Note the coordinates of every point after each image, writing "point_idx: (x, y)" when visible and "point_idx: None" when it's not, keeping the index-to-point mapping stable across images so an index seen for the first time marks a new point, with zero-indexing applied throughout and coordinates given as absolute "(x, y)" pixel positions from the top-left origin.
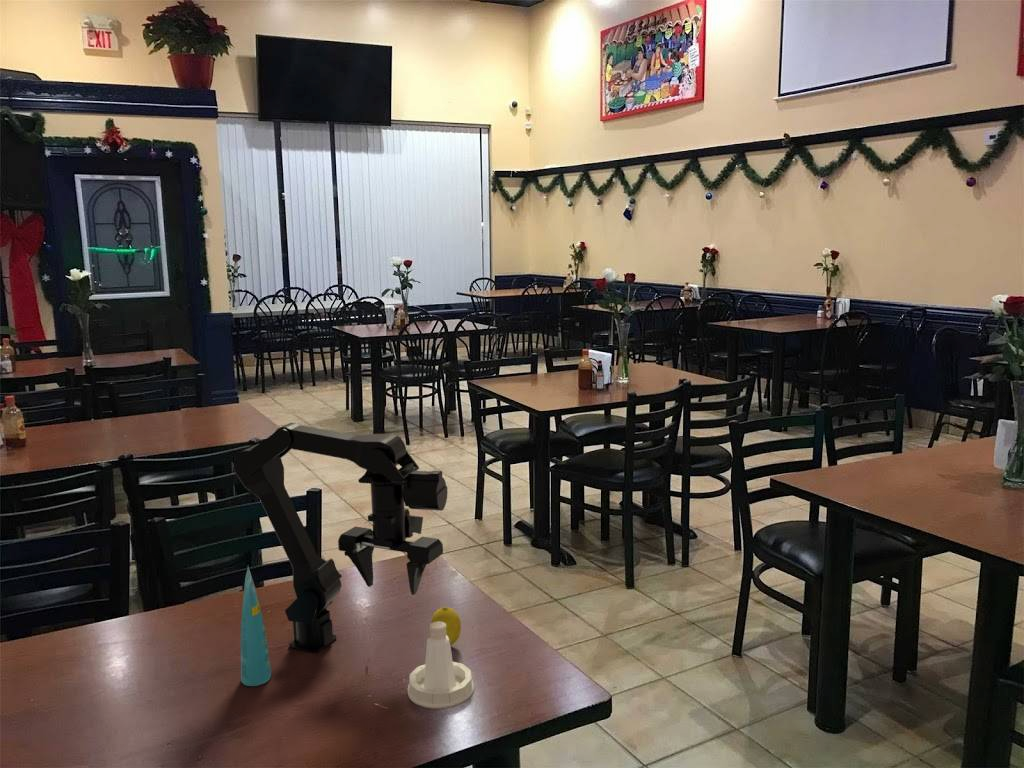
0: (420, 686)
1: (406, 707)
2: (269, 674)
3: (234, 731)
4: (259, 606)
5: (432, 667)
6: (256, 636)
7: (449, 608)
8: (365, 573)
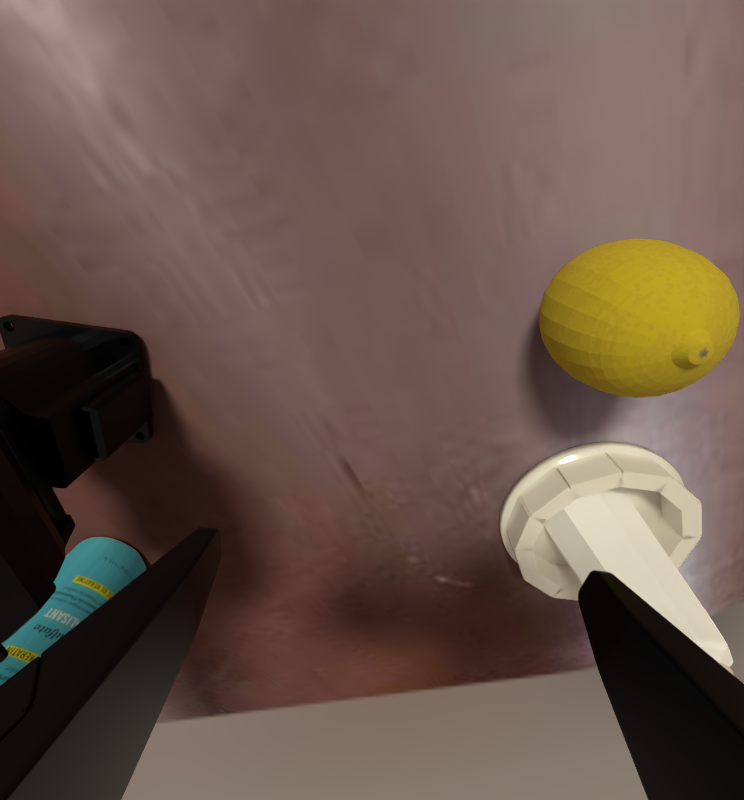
0: (556, 584)
1: (513, 577)
2: (135, 568)
3: (223, 672)
4: None
5: None
6: None
7: (719, 333)
8: (154, 721)
